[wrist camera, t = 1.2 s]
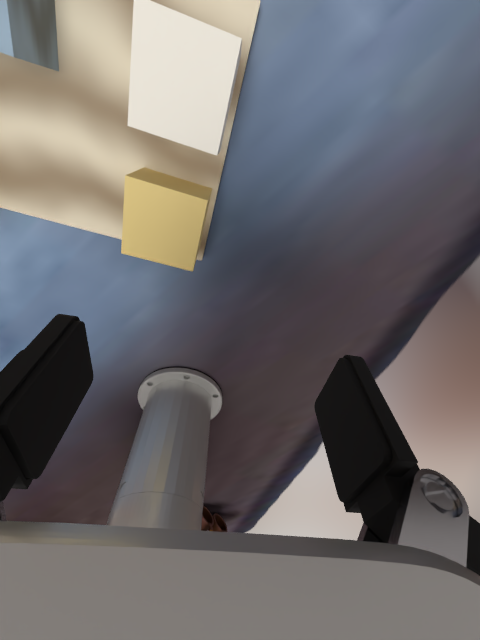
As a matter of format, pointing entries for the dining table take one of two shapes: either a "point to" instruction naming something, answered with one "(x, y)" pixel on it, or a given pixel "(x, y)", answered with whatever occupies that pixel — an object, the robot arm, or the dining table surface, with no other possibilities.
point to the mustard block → (163, 218)
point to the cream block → (181, 76)
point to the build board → (91, 109)
